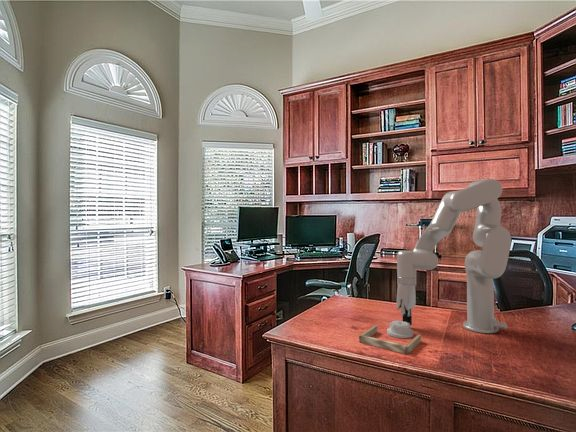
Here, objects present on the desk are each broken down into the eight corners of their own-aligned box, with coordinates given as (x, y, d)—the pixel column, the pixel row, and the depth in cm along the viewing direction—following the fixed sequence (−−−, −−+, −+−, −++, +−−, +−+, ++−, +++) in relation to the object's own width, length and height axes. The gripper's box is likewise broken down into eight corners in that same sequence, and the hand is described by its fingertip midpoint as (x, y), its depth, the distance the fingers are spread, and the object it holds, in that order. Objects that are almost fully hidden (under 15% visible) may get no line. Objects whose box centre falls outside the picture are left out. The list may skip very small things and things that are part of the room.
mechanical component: (388, 338, 130) (415, 339, 128) (387, 326, 130) (415, 328, 128) (386, 329, 140) (411, 330, 138) (386, 318, 140) (411, 319, 138)
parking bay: (421, 341, 126) (420, 334, 125) (407, 354, 115) (407, 347, 115) (375, 331, 137) (375, 325, 137) (359, 342, 126) (359, 335, 126)
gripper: (404, 276, 148) (404, 318, 148) (390, 282, 136) (391, 328, 137) (421, 278, 143) (422, 321, 144) (409, 285, 132) (409, 332, 132)
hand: (407, 324), depth 140 cm, fingers closed
